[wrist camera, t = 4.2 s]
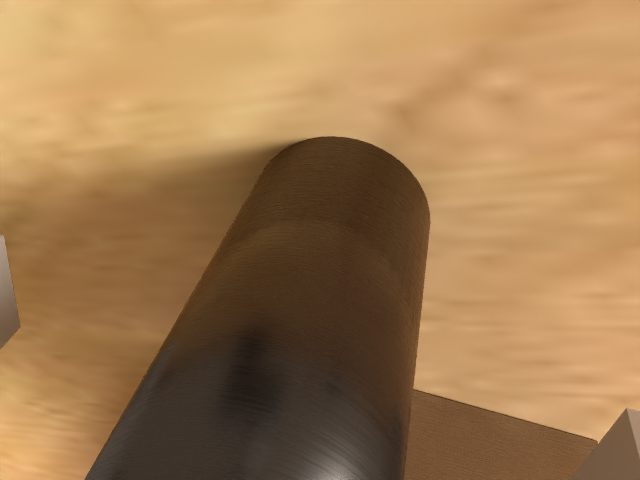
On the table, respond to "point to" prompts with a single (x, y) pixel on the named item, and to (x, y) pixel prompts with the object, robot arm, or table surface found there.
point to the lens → (292, 333)
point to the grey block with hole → (486, 445)
